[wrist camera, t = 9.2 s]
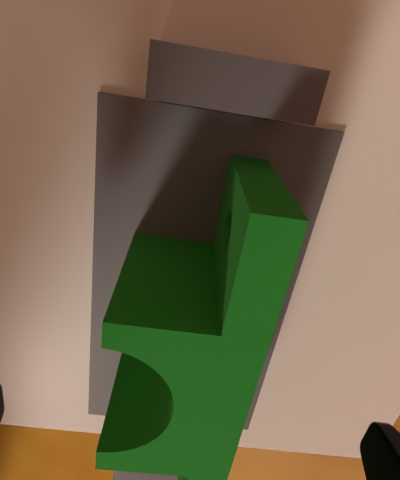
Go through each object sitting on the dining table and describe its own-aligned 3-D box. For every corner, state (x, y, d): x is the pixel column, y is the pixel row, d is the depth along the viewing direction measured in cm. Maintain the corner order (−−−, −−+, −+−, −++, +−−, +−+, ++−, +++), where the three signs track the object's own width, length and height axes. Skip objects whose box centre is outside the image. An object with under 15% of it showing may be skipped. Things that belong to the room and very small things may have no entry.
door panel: (-45, 395, 17) (-94, 464, 14) (-147, -105, 9) (-304, -179, 6) (363, 436, 19) (393, 504, 16) (580, 37, 11) (720, 30, 8)
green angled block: (142, 139, 11) (108, 188, 6) (267, 159, 11) (311, 218, 7) (119, 405, 15) (91, 531, 11) (206, 414, 16) (210, 540, 12)
